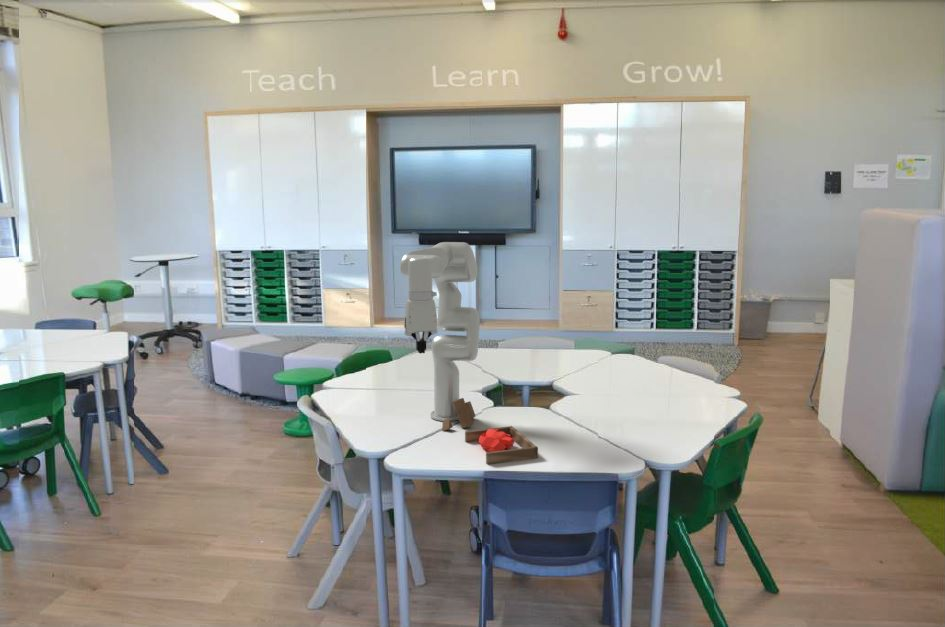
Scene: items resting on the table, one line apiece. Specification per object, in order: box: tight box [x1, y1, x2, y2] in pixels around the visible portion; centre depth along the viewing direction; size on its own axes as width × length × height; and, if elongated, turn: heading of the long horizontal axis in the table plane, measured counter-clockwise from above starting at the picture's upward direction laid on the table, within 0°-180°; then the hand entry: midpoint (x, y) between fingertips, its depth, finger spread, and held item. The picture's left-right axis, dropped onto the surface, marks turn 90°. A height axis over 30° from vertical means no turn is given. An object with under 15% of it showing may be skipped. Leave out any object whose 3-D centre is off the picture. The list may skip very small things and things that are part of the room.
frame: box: [464, 425, 539, 465], centre depth 231 cm, size 22×17×4 cm
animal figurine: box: [478, 428, 515, 452], centre depth 231 cm, size 12×15×5 cm
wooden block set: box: [441, 397, 476, 432], centre depth 256 cm, size 18×9×10 cm, turn 153°
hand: (421, 352), depth 225 cm, fingers closed
